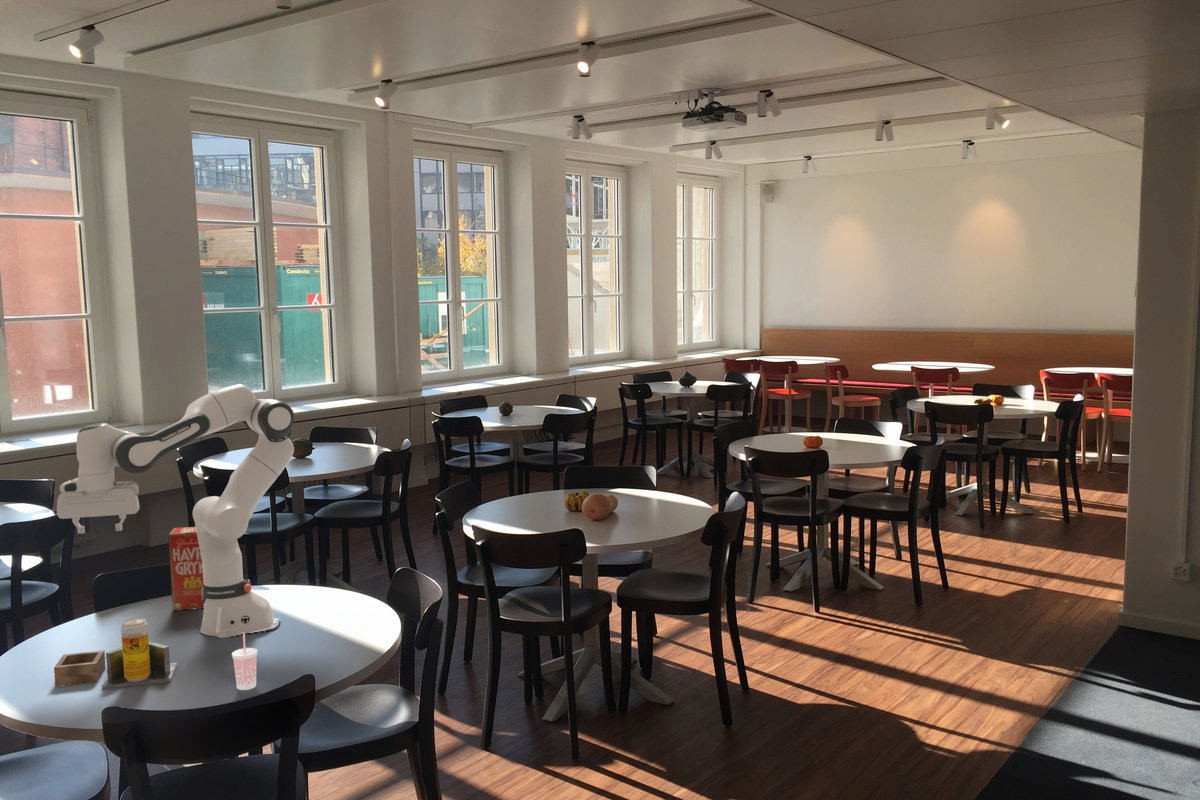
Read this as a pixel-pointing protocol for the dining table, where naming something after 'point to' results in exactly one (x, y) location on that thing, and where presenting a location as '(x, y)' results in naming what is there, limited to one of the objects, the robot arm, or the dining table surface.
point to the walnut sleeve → (80, 668)
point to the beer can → (135, 649)
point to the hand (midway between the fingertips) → (100, 531)
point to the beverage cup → (245, 667)
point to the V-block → (158, 667)
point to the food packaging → (185, 568)
